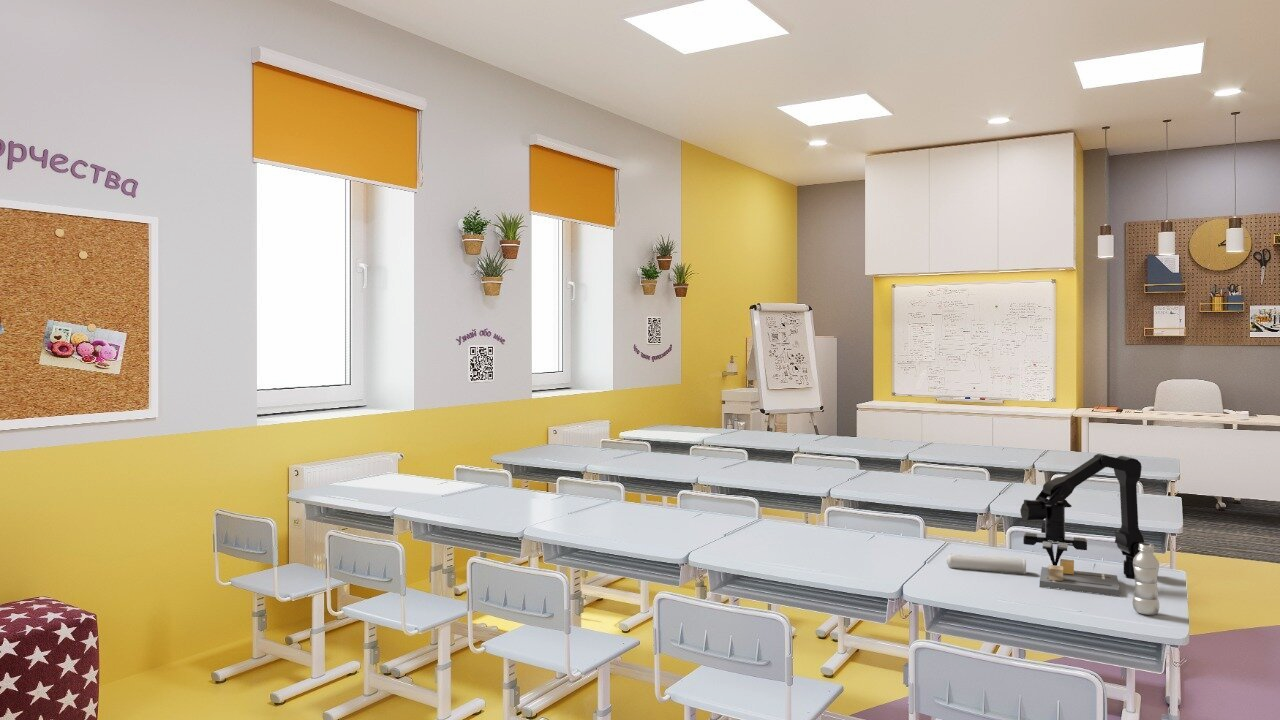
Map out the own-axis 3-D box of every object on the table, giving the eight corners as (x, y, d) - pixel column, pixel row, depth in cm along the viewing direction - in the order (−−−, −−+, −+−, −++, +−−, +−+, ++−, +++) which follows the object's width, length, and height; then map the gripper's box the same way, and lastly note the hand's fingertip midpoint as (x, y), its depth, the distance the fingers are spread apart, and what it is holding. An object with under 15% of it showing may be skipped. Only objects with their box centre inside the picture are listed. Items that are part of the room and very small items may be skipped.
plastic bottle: (1150, 619, 234) (1151, 548, 234) (1127, 612, 240) (1127, 543, 240) (1164, 615, 237) (1165, 545, 237) (1140, 608, 243) (1141, 540, 243)
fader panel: (1116, 581, 271) (1116, 574, 271) (1119, 596, 255) (1119, 589, 255) (1041, 572, 281) (1041, 566, 281) (1039, 586, 265) (1039, 580, 265)
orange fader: (1073, 570, 275) (1073, 560, 275) (1073, 574, 271) (1073, 563, 271) (1060, 569, 277) (1060, 558, 277) (1059, 572, 273) (1060, 562, 273)
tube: (946, 558, 286) (1026, 564, 277) (946, 549, 291) (1025, 555, 282) (946, 571, 288) (1025, 578, 279) (946, 563, 292) (1024, 569, 283)
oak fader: (1063, 577, 268) (1063, 566, 268) (1062, 581, 263) (1062, 570, 263) (1049, 575, 270) (1049, 564, 270) (1048, 579, 265) (1048, 568, 265)
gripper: (1086, 518, 278) (1086, 564, 279) (1025, 513, 287) (1025, 558, 287) (1087, 524, 268) (1086, 573, 269) (1023, 519, 277) (1023, 566, 277)
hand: (1054, 567), depth 276 cm, fingers closed
